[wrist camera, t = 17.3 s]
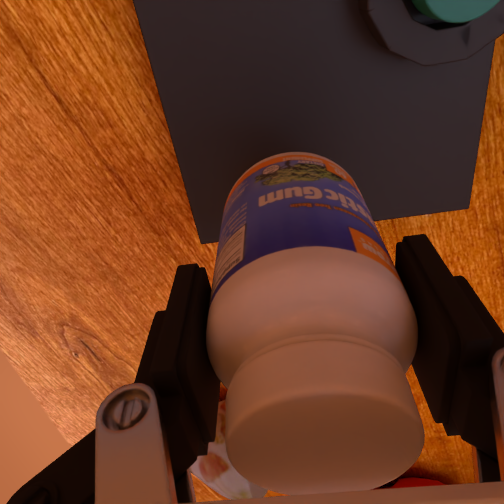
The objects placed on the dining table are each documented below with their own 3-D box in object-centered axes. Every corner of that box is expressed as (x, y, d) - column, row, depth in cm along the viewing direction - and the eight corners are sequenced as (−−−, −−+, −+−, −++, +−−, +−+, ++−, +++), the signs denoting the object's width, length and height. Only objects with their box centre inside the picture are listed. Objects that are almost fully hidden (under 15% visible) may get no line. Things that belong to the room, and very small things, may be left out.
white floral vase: (134, 392, 32) (159, 486, 24) (244, 348, 36) (302, 417, 27) (157, 462, 35) (186, 571, 26) (257, 416, 38) (314, 498, 29)
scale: (511, -145, 15) (574, -175, 12) (462, 191, 22) (493, 224, 19) (127, -63, 16) (98, -71, 13) (204, 226, 23) (197, 262, 21)
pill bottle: (385, 172, 15) (537, 397, 7) (327, 281, 18) (386, 528, 10) (245, 128, 14) (234, 328, 6) (208, 250, 17) (167, 495, 9)
